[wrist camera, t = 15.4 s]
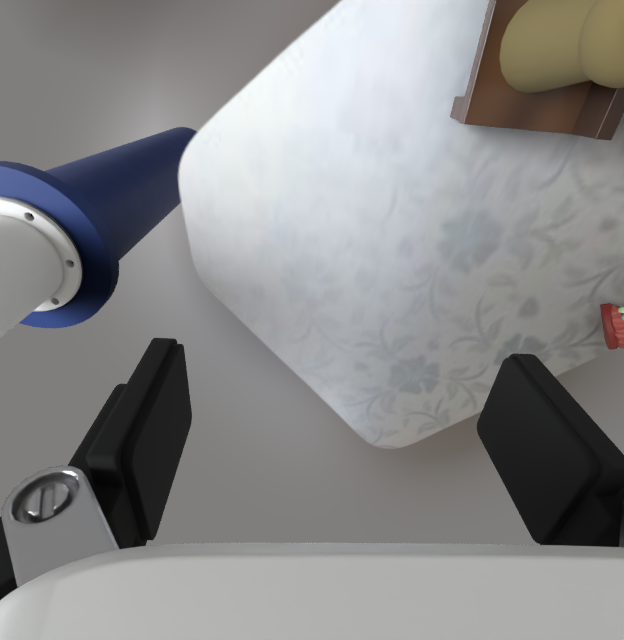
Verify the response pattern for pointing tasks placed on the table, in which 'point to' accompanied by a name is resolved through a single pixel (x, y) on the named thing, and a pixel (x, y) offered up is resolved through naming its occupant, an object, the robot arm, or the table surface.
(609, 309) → the dental model
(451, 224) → the table surface
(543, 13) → the pepper shaker
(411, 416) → the table surface
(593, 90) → the shelf
